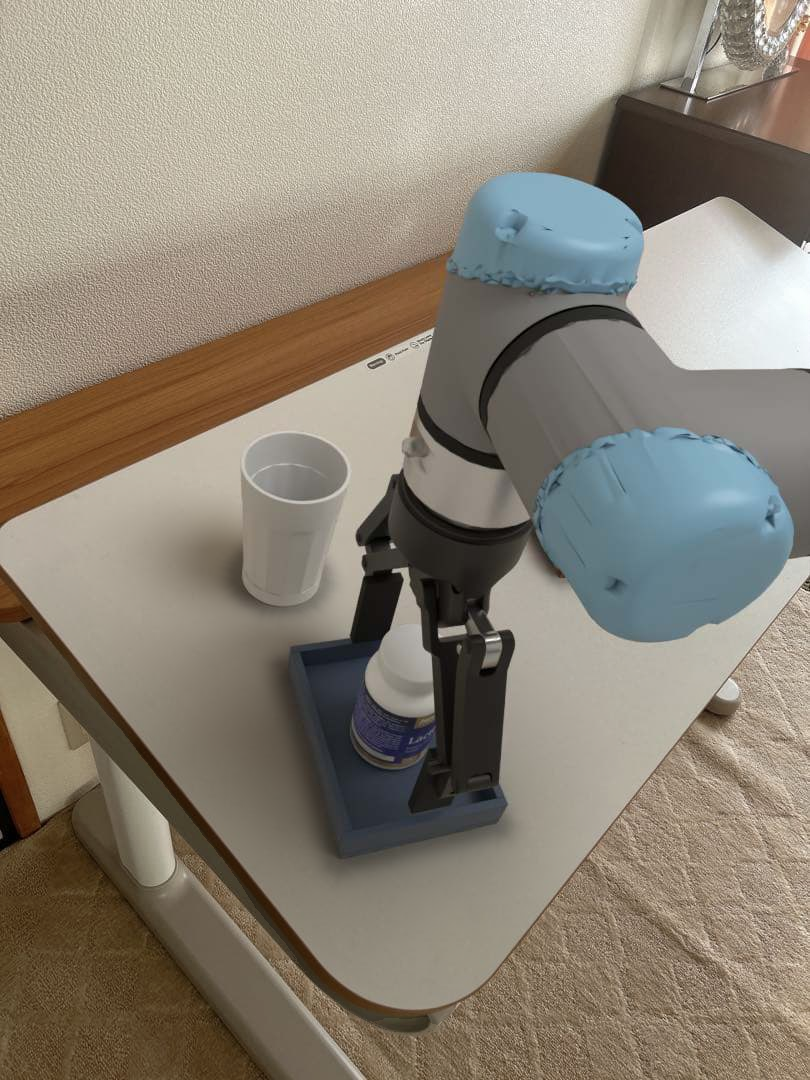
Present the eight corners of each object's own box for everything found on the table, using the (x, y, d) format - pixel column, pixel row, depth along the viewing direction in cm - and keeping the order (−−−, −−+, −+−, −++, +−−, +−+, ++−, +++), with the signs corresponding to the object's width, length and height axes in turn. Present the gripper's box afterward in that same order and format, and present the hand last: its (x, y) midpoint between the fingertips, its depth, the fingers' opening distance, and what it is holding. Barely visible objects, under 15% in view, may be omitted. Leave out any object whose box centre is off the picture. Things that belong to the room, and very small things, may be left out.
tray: (498, 822, 60) (508, 804, 58) (340, 859, 56) (346, 840, 54) (425, 646, 70) (432, 625, 68) (286, 667, 66) (290, 646, 64)
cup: (265, 527, 75) (278, 416, 67) (347, 568, 74) (370, 459, 66) (211, 585, 70) (218, 471, 62) (298, 630, 68) (316, 520, 60)
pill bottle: (412, 786, 60) (444, 703, 53) (335, 752, 61) (357, 666, 54) (439, 722, 64) (472, 637, 57) (367, 690, 65) (391, 603, 58)
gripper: (338, 348, 52) (300, 585, 67) (495, 694, 37) (401, 905, 51) (454, 346, 55) (393, 574, 70) (647, 668, 39) (516, 875, 54)
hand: (396, 715), depth 61 cm, fingers open, 13 cm apart
